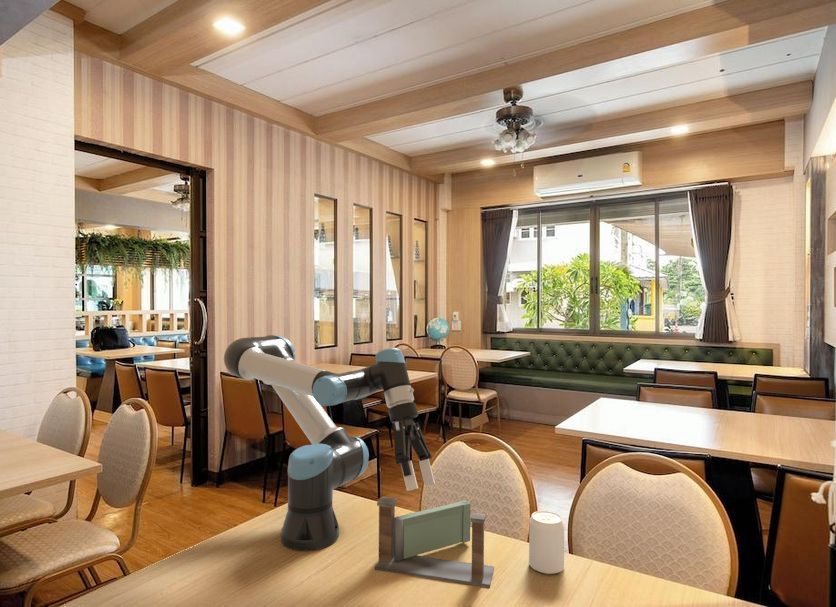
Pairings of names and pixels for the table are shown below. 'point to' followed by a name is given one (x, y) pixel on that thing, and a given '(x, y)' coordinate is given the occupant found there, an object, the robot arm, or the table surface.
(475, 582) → the gate frame
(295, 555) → the table surface
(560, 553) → the white cylinder
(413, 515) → the gate
